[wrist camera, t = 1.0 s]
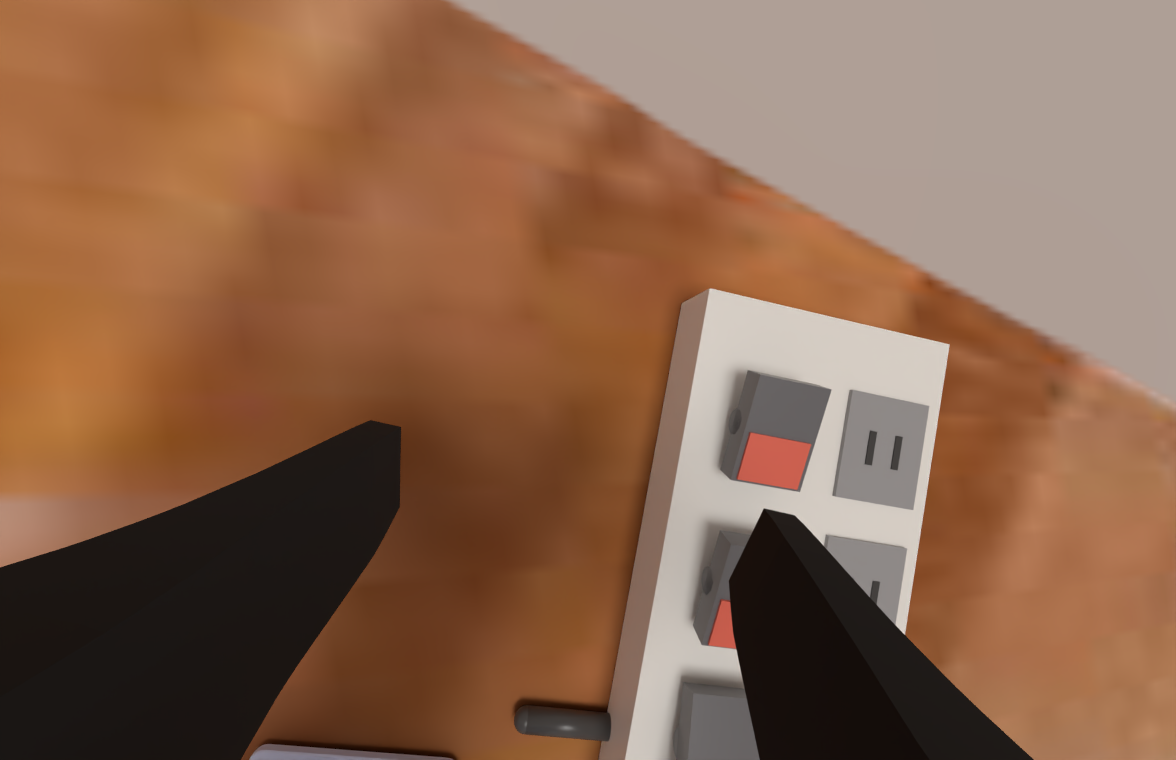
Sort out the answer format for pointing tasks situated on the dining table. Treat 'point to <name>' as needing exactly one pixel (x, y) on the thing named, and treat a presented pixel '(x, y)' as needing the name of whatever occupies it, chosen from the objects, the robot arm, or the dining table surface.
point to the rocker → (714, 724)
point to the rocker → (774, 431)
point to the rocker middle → (719, 592)
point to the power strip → (762, 495)
